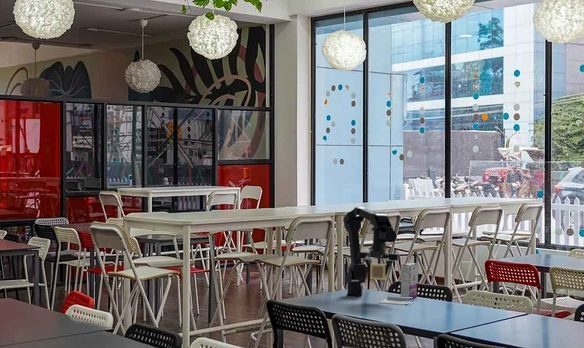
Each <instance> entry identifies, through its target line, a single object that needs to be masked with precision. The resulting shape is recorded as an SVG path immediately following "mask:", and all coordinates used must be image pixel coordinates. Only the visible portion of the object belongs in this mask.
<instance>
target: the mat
mask: <svg viewBox="0 0 584 348" xmlns="http://www.w3.org/2000/svg"><path fill="white" fill-rule="evenodd" d="M402 301H412V299H411V298H401V296H400V297H399V296H387V297H386V298H385V299H383V300H381V301H379V304H388V305H399V306H406V305H405V304H408V303H405V302H402ZM407 306H411V305H410V304H408V305H407Z"/></svg>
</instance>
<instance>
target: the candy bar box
mask: <svg viewBox="0 0 584 348" xmlns="http://www.w3.org/2000/svg"><path fill="white" fill-rule="evenodd" d="M400 297H415V298H417V297H418V262H417V263H415V262H407V263H402V264H401V265H400Z"/></svg>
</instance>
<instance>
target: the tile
mask: <svg viewBox="0 0 584 348" xmlns="http://www.w3.org/2000/svg"><path fill="white" fill-rule="evenodd" d="M385 271H386V263H385V264H384V263H372V264H371V267H370V273H369V279H370V280H378V281H379V280H381V281H382V280H383V281H386V280H387V275H385Z"/></svg>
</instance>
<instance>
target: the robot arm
mask: <svg viewBox="0 0 584 348" xmlns="http://www.w3.org/2000/svg"><path fill="white" fill-rule="evenodd" d="M364 220H367V221H369V224H371V225H372V226H373V227H372V228H371V230H370V231H372V232H373V235H372V243H371V244H372V246H371V248H370V249H369V251H361V244H360V233H359V232H360V229H361V227H362V222H363V221H364ZM342 221H343V225H344V229H345V230H346V231H347V233H348V241H349V243H348V244H349V252H350V264H349V266H348V270H347V271H348V272H347V273H346V275H345V277H344V283H346V284H347V294H346V296H348V295H352V297H361V296H363V295H362V294H364V293H363V291H364V286H363V284H365V283H366V278H367V276H368V275H367V273H368V271H369V274H370V267H371V264H373V261H372V260H373V259H387V260H385V264H386V271H385V275H386V276H387V275H388V273H389V270H390V269H391V266H392V264H393V263H394V262H396V261H400V260H401V255H400V253H392V252H391V253H389V254H386V246H387V243H394V242H395V241H397V233H396V231H395V230H394V227H393V226H392V223H391V222H390V219H389V216H388V215H387V214H386V213H376V212H374V211H372V210H370V209H368V208H366V207H364V206H356V207H354V208H353V209H352V210H350V211H349V212H347V213H346V214H345V216H344V217H343V219H342ZM372 258H373V259H372ZM363 261H364V262H365V263H363ZM367 269H368V271H367ZM360 295H361V296H360Z"/></svg>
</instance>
